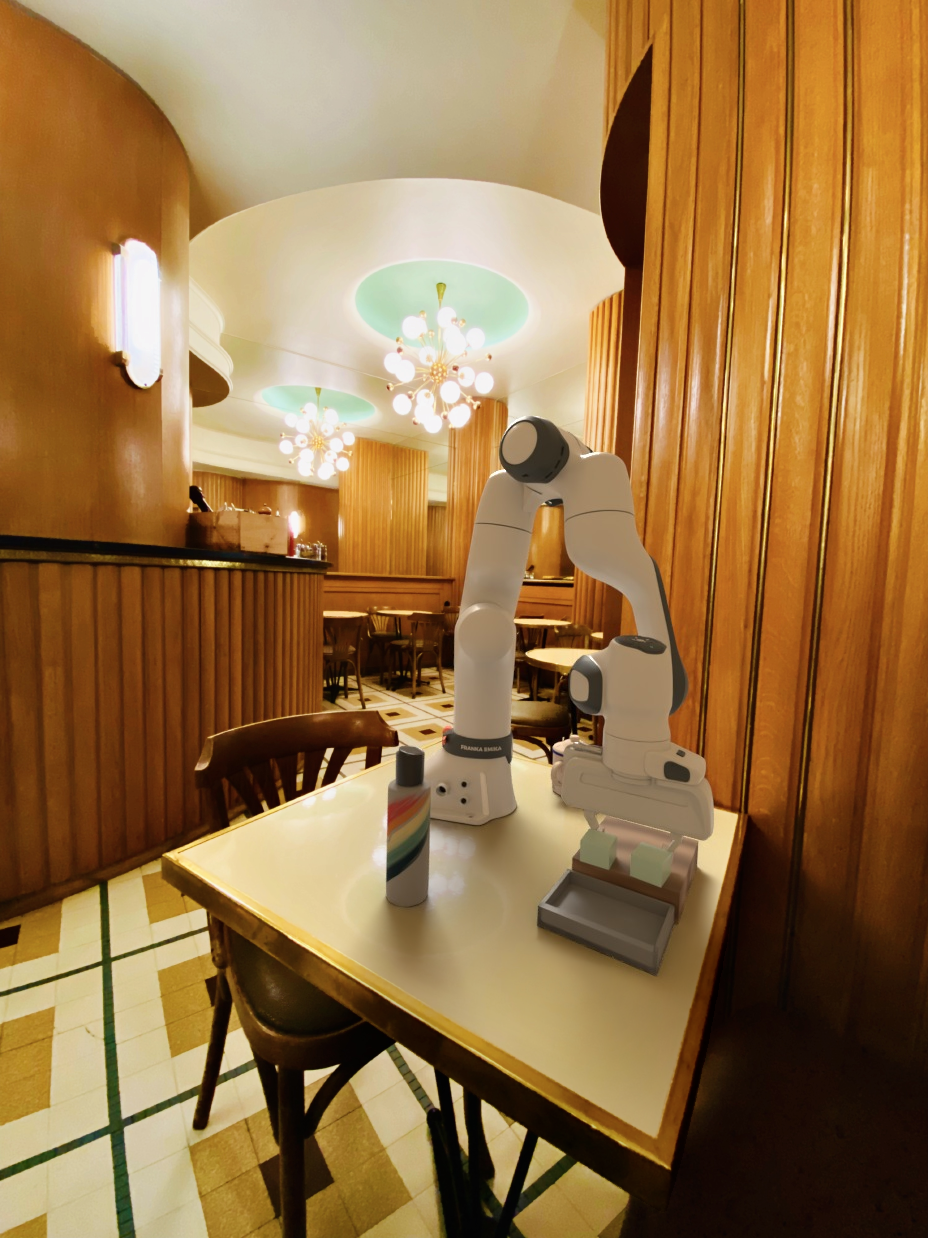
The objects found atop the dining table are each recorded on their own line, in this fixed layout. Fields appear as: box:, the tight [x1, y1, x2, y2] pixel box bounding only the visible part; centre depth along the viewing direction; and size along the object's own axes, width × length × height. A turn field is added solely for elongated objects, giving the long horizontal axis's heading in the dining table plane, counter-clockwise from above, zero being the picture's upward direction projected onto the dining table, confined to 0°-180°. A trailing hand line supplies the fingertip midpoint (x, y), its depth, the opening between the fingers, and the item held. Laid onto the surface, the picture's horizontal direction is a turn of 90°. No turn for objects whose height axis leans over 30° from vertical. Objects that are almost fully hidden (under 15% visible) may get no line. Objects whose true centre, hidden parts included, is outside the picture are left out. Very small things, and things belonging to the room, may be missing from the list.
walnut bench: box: [571, 815, 699, 925], centre depth 72 cm, size 16×14×4 cm
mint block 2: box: [630, 842, 672, 887], centre depth 65 cm, size 4×4×3 cm
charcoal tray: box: [536, 868, 675, 977], centre depth 61 cm, size 10×14×2 cm
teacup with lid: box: [550, 734, 590, 796], centre depth 101 cm, size 12×9×12 cm
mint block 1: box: [579, 827, 617, 870], centre depth 68 cm, size 4×4×3 cm
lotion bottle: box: [385, 745, 431, 908], centre depth 65 cm, size 6×6×20 cm
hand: (631, 850), depth 69 cm, fingers open, 8 cm apart
